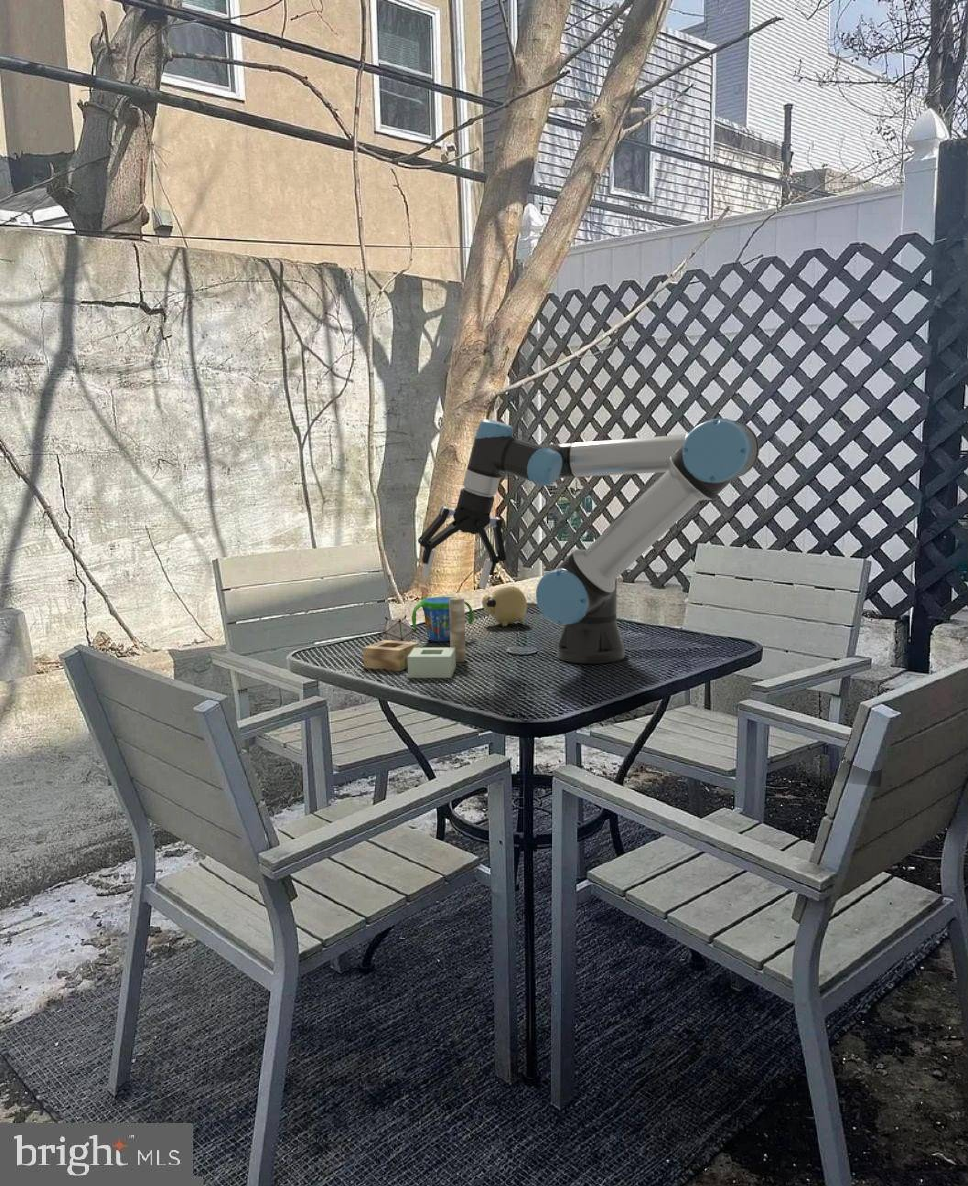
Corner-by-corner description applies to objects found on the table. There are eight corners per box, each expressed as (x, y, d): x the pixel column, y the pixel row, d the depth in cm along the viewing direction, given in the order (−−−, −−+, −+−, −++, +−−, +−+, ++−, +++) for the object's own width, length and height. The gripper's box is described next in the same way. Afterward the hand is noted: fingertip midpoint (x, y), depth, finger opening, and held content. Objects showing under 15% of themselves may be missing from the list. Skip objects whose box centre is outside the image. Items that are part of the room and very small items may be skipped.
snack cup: (469, 633, 239) (468, 594, 238) (478, 641, 229) (477, 600, 227) (409, 637, 236) (408, 598, 234) (416, 645, 225) (414, 604, 224)
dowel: (468, 659, 209) (466, 598, 207) (461, 662, 206) (460, 600, 204) (454, 658, 211) (453, 597, 209) (448, 661, 208) (446, 599, 206)
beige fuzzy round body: (480, 622, 254) (479, 584, 252) (523, 620, 256) (522, 582, 254) (485, 629, 244) (484, 589, 243) (530, 627, 246) (529, 587, 244)
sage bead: (455, 667, 201) (455, 647, 201) (450, 677, 192) (450, 656, 192) (414, 667, 202) (414, 647, 201) (408, 677, 193) (407, 656, 192)
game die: (403, 665, 221) (408, 637, 214) (371, 652, 222) (375, 624, 215) (418, 641, 227) (423, 613, 220) (387, 628, 228) (391, 600, 221)
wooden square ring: (419, 662, 208) (418, 642, 207) (399, 670, 199) (398, 650, 199) (384, 659, 211) (384, 639, 211) (363, 667, 203) (363, 647, 202)
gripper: (524, 498, 208) (499, 585, 214) (420, 475, 199) (396, 567, 205) (536, 507, 201) (509, 597, 207) (428, 484, 192) (403, 579, 198)
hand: (453, 582), depth 206 cm, fingers open, 13 cm apart
